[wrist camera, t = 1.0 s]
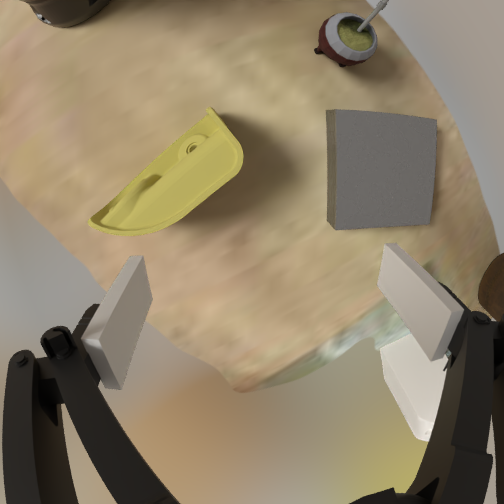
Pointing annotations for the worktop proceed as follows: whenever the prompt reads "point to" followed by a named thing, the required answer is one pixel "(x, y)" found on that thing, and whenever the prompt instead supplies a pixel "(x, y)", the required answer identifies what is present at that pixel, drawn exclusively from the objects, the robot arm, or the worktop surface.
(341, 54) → the mate gourd
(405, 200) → the stand
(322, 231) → the worktop surface
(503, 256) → the wooden container
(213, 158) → the plastic component
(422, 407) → the milk
